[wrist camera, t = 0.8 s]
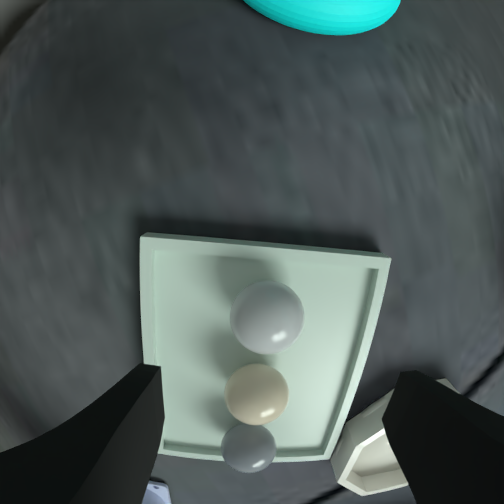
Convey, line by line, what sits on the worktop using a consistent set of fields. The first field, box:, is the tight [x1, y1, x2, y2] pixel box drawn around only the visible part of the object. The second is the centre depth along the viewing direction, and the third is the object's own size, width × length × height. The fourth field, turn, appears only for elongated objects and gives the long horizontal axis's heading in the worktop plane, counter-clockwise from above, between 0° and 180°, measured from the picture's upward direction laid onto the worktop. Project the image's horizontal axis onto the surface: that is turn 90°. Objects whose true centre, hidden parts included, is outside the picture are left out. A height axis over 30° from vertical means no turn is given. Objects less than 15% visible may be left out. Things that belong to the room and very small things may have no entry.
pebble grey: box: [230, 280, 305, 354], centre depth 14 cm, size 3×3×3 cm
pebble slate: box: [221, 423, 277, 473], centre depth 16 cm, size 3×3×3 cm
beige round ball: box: [224, 363, 289, 425], centre depth 15 cm, size 3×3×3 cm
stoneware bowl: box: [330, 378, 460, 496], centre depth 18 cm, size 11×11×2 cm
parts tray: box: [140, 232, 391, 462], centre depth 17 cm, size 12×15×1 cm
